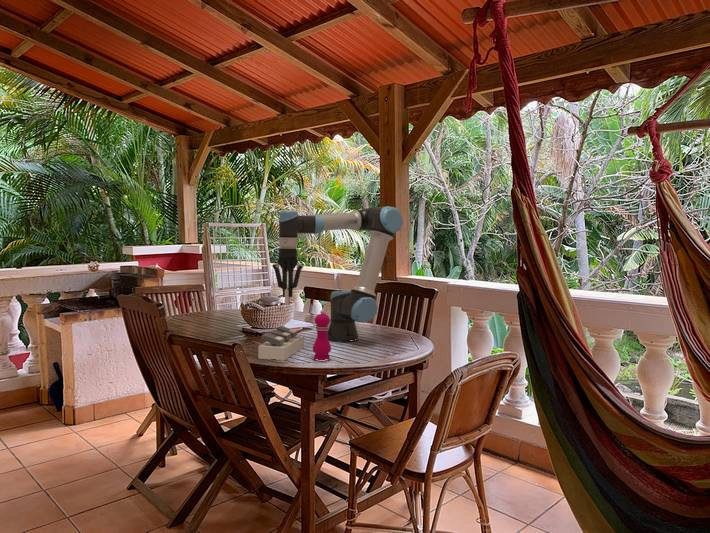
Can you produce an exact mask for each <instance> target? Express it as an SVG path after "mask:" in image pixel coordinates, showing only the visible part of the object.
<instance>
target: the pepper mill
mask: <svg viewBox="0 0 710 533" xmlns="http://www.w3.org/2000/svg"><path fill="white" fill-rule="evenodd" d="M319 311H320V312H319V314H317V315H316V316H315V317H314V318H315V319H314V323H315V324H316V326H315V330H316V339H315V341H314V343H313V346H312V351H313V353H314V354H313V360H314V359H318V360H325V359H329V358H330V357H331V356H330V353H331V351H332V347H331V343H330V340H328V337H327V331H328V328H329V325H330V316H329V315H328V314H326V312H325V310H324V309H321V310H319Z"/></svg>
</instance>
